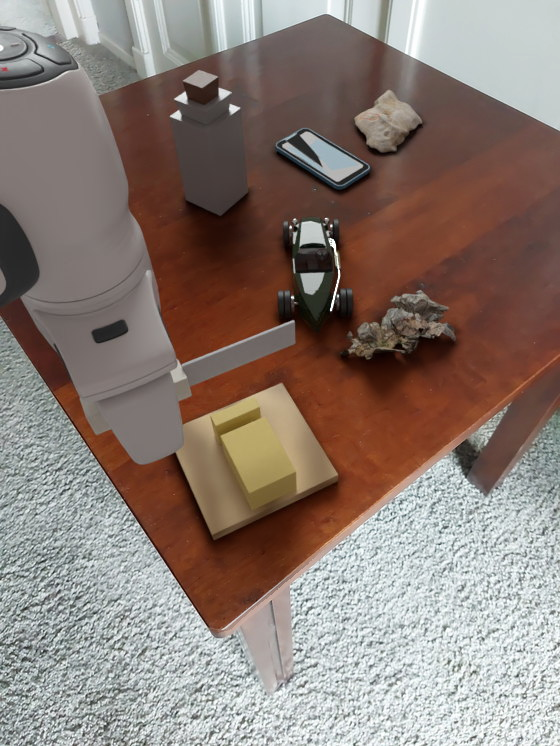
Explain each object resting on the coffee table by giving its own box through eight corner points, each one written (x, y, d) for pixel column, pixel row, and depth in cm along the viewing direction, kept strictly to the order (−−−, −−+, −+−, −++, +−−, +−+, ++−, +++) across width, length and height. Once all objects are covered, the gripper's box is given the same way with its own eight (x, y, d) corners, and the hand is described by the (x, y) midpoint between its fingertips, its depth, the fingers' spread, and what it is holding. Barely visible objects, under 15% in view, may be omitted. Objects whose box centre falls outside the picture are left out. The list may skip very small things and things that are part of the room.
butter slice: (219, 445, 63) (215, 426, 60) (214, 434, 64) (209, 415, 61) (262, 427, 64) (260, 407, 61) (256, 416, 65) (254, 396, 62)
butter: (251, 510, 59) (248, 493, 55) (224, 454, 62) (219, 435, 59) (297, 489, 60) (296, 471, 57) (267, 435, 64) (265, 415, 60)
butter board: (213, 540, 59) (211, 535, 57) (168, 438, 66) (166, 431, 64) (337, 481, 62) (338, 474, 61) (282, 389, 69) (282, 382, 68)
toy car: (342, 229, 85) (344, 201, 81) (354, 338, 73) (357, 311, 69) (277, 231, 85) (276, 203, 81) (278, 340, 73) (277, 314, 69)
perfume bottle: (214, 176, 93) (197, 60, 78) (248, 191, 90) (237, 74, 76) (185, 199, 90) (163, 83, 75) (220, 216, 87) (203, 98, 73)
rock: (323, 332, 74) (323, 311, 71) (426, 292, 77) (431, 270, 74) (357, 381, 69) (359, 361, 66) (465, 336, 73) (472, 315, 69)
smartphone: (339, 188, 89) (272, 144, 95) (339, 193, 90) (272, 150, 96) (373, 166, 92) (305, 126, 98) (372, 172, 92) (305, 131, 99)
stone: (385, 100, 104) (387, 84, 102) (436, 123, 99) (439, 107, 97) (335, 133, 99) (336, 117, 96) (386, 159, 94) (388, 143, 92)
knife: (96, 435, 52) (84, 416, 49) (88, 414, 53) (77, 394, 50) (300, 351, 56) (300, 329, 54) (289, 334, 58) (288, 312, 55)
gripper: (13, 212, 46) (70, 328, 57) (84, 412, 35) (138, 508, 46) (92, 187, 47) (133, 305, 58) (185, 372, 36) (213, 473, 47)
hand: (136, 396), depth 52 cm, fingers closed on knife, 2 cm apart
